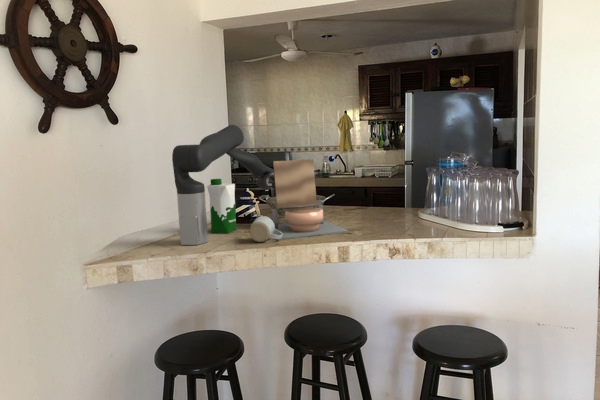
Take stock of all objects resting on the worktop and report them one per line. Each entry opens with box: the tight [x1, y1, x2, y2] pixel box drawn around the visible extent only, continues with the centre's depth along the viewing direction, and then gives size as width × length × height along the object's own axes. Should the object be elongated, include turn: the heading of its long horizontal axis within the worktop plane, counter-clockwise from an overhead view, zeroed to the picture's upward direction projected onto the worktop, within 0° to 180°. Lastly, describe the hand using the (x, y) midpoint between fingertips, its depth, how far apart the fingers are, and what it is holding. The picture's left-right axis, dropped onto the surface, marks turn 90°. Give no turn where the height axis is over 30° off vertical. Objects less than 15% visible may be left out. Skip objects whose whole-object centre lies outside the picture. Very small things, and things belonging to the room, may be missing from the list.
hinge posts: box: [271, 204, 324, 229], centre depth 176 cm, size 2×20×8 cm, turn 109°
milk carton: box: [206, 178, 237, 234], centre depth 173 cm, size 9×9×20 cm
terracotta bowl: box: [284, 207, 324, 232], centre depth 169 cm, size 14×14×7 cm
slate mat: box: [273, 219, 350, 241], centre depth 172 cm, size 26×26×1 cm
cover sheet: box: [272, 158, 318, 211], centre depth 176 cm, size 18×16×1 cm
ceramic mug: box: [248, 215, 283, 243], centre depth 155 cm, size 11×8×8 cm
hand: (288, 185), depth 184 cm, fingers closed
